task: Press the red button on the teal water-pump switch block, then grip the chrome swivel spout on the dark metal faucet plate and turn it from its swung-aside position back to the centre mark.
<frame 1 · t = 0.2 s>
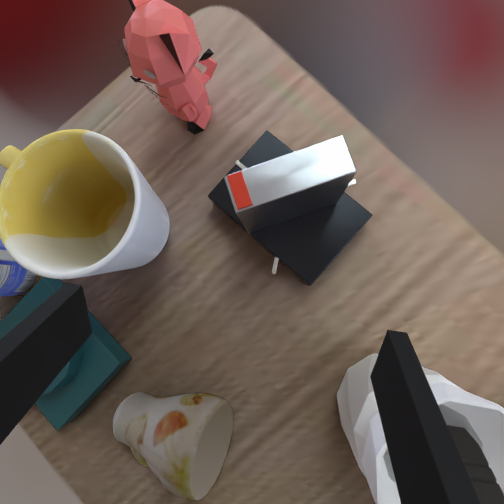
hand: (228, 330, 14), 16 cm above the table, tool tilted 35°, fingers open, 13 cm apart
pill bottle: (24, 269, 32), on the table
vase: (386, 401, 27), on the table
mug 2: (127, 219, 32), on the table
pink faceted figure: (195, 109, 32), on the table
pump switch: (65, 347, 31), on the table
mug: (180, 420, 29), on the table
spout: (288, 191, 24), point 6 cm above the table, hinge at 60.0°
faucet plate: (287, 211, 30), on the table
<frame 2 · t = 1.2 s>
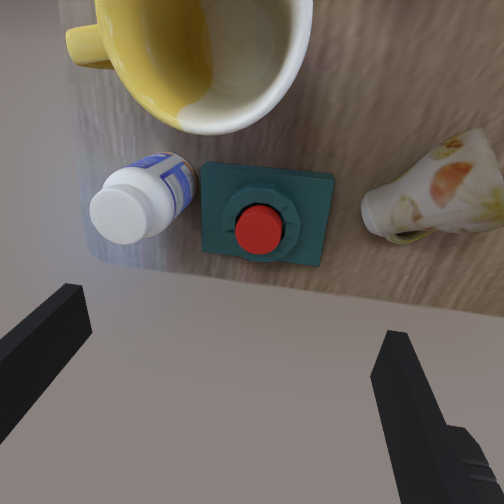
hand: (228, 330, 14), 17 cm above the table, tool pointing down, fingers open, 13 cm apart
pill bottle: (171, 180, 30), on the table
mug 2: (218, 42, 24), on the table
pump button: (259, 229, 25), point 4 cm above the table, slide at 0.1 cm
pump switch: (265, 210, 29), on the table
mug: (417, 189, 27), on the table
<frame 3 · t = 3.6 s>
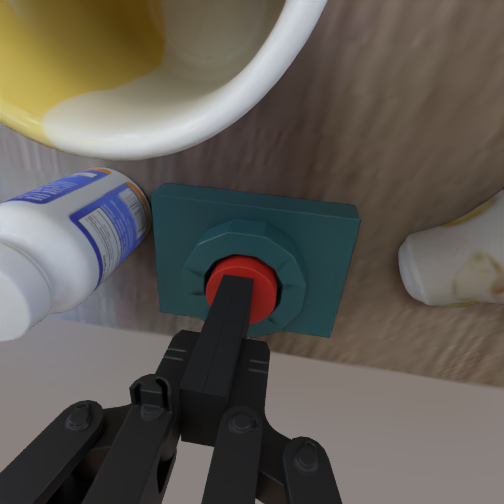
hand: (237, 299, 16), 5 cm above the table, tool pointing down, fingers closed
pill bottle: (114, 207, 20), on the table
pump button: (243, 287, 17), point 4 cm above the table, slide at -0.6 cm, touching gripper
pump switch: (252, 253, 20), on the table
mug: (482, 230, 18), on the table
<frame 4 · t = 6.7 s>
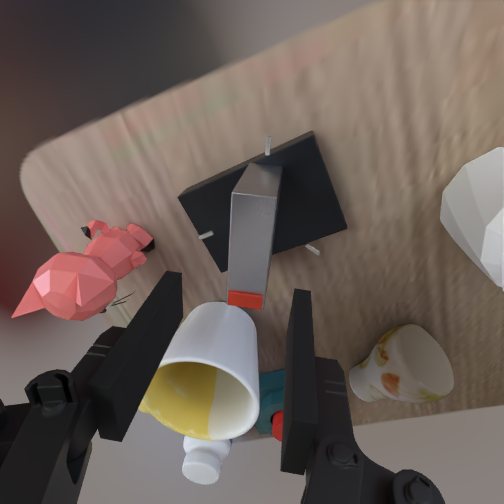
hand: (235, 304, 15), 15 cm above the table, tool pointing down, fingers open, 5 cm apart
pill bottle: (220, 393, 42), on the table
vase: (494, 198, 26), on the table
mug 2: (211, 323, 36), on the table
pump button: (288, 426, 36), point 4 cm above the table, slide at 0.1 cm
pink faceted figure: (129, 236, 32), on the table
pump switch: (289, 392, 40), on the table
mug: (387, 351, 35), on the table
spout: (255, 232, 23), point 6 cm above the table, hinge at 60.0°
faucet plate: (264, 202, 28), on the table
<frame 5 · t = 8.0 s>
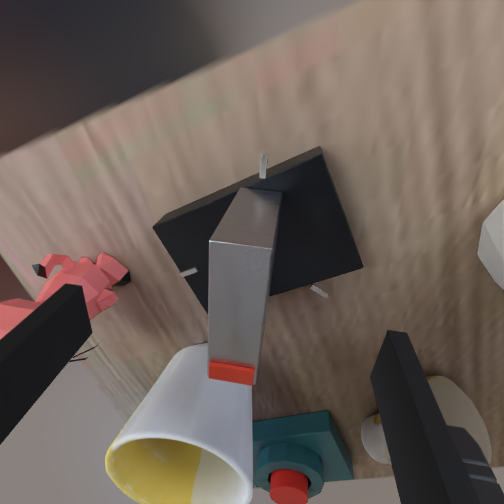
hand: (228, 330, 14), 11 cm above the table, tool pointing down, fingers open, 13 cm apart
mug 2: (199, 365, 31), on the table
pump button: (289, 487, 30), point 4 cm above the table, slide at 0.1 cm
pink faceted figure: (100, 267, 27), on the table
pump switch: (290, 441, 34), on the table
mug: (405, 401, 30), on the table
spout: (247, 278, 18), point 6 cm above the table, hinge at 60.0°
faucet plate: (260, 231, 23), on the table
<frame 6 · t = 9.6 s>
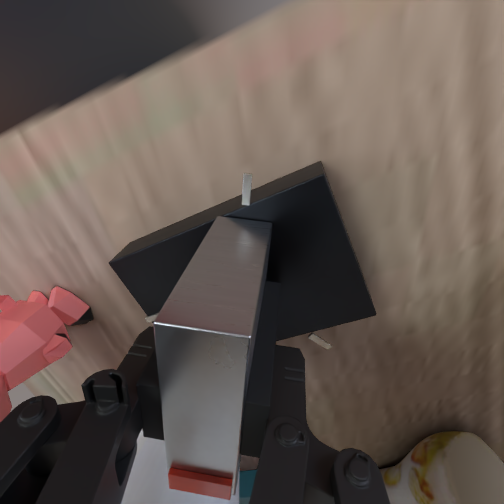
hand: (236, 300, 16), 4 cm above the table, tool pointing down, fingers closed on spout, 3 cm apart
mug 2: (179, 411, 27), on the table
pink faceted figure: (56, 302, 22), on the table
pump switch: (286, 491, 30), on the table
mug: (421, 453, 25), on the table
spout: (224, 342, 13), point 6 cm above the table, hinge at 60.0°, touching gripper
faucet plate: (246, 264, 19), on the table
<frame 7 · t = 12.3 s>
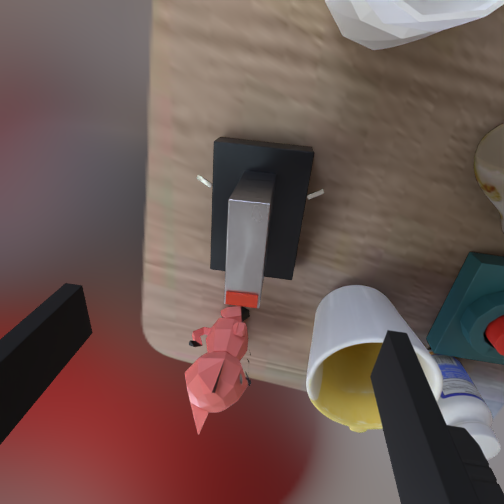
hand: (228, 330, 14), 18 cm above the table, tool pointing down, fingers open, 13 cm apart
pill bottle: (432, 363, 37), on the table
mug 2: (346, 318, 35), on the table
pink faceted figure: (230, 319, 37), on the table
pump switch: (485, 304, 32), on the table
spout: (251, 236, 24), point 6 cm above the table, hinge at 0.6°
faucet plate: (259, 207, 30), on the table
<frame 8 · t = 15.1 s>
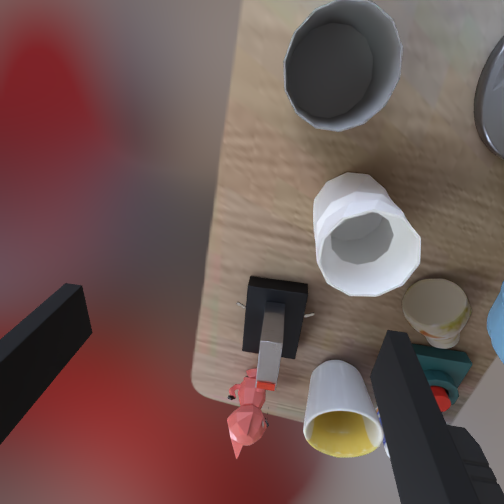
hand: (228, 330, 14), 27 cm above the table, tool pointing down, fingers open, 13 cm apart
vase: (348, 207, 38), on the table
cup: (329, 73, 32), on the table
mug 2: (332, 378, 52), on the table
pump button: (434, 399, 45), point 4 cm above the table, slide at 0.1 cm
pink faceted figure: (252, 376, 54), on the table
pump switch: (423, 373, 48), on the table
mug: (432, 303, 43), on the table
spout: (270, 344, 41), point 6 cm above the table, hinge at 0.6°
faucet plate: (274, 313, 47), on the table
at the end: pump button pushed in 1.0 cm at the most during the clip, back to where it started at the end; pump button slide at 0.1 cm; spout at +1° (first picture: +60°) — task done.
